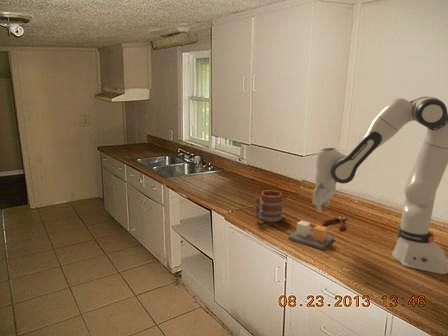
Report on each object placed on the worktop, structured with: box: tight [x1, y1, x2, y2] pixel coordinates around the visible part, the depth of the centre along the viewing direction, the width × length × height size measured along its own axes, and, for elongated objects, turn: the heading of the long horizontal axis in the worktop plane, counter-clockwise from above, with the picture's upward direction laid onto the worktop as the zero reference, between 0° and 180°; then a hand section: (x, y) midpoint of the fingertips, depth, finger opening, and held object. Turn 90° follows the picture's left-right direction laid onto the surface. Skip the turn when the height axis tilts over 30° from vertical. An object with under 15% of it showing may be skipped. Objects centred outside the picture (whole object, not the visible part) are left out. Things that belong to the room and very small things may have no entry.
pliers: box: [321, 215, 347, 232], centre depth 190 cm, size 12×20×3 cm, turn 142°
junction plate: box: [287, 220, 334, 250], centre depth 168 cm, size 18×14×8 cm
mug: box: [254, 189, 284, 223], centre depth 193 cm, size 14×19×15 cm
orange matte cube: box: [312, 224, 328, 242], centre depth 166 cm, size 5×5×6 cm
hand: (322, 209), depth 162 cm, fingers open, 8 cm apart
